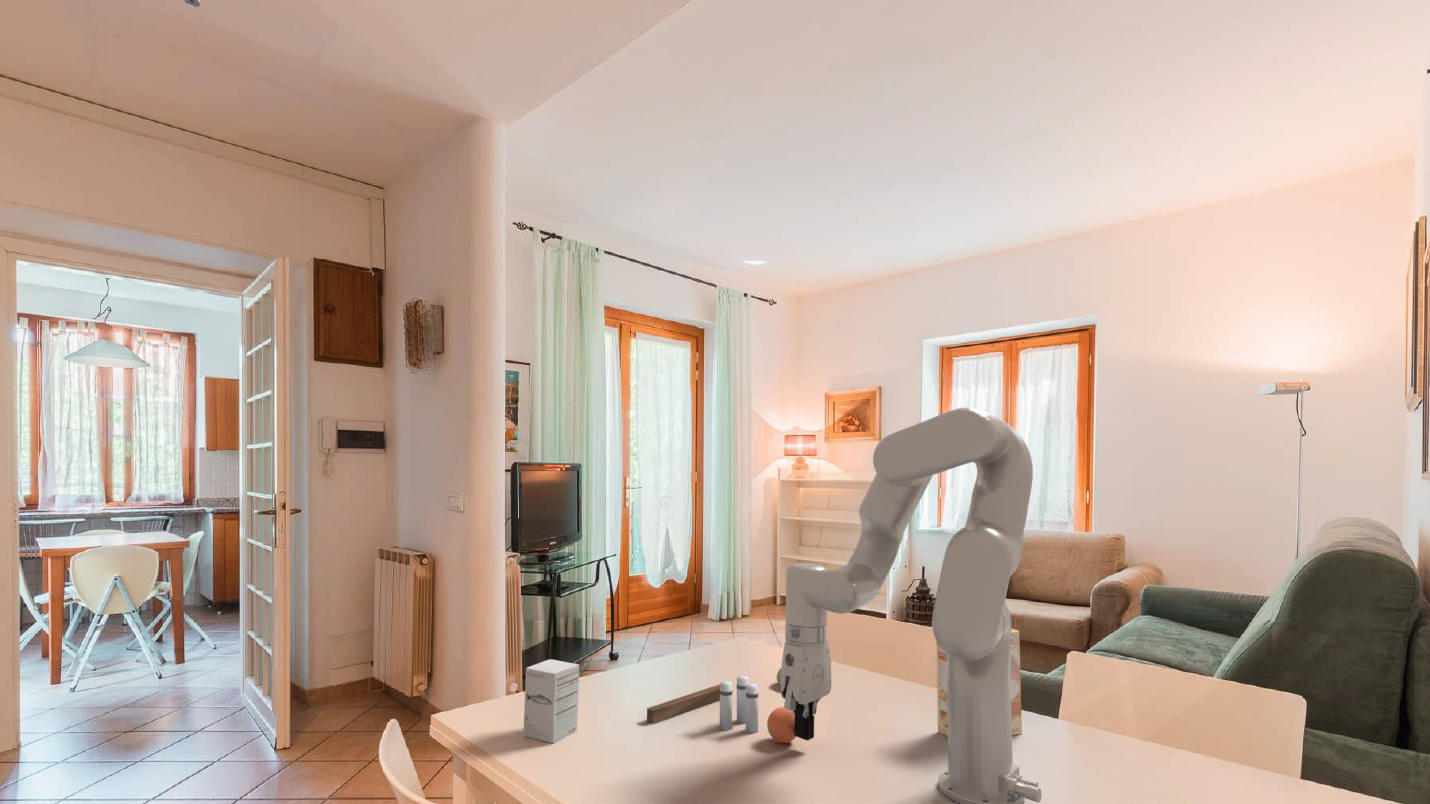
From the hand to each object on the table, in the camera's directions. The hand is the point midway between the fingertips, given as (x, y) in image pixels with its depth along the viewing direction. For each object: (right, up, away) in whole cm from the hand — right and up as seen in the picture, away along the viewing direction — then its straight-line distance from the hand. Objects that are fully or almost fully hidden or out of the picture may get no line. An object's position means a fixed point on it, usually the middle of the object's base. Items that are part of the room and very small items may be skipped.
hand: (804, 736), depth 124 cm
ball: (-3, 0, +4) cm, 5 cm away
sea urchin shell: (+3, -6, +36) cm, 36 cm away
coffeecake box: (+35, -4, +8) cm, 36 cm away
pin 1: (-14, -3, +10) cm, 17 cm away
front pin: (-9, -3, +9) cm, 13 cm away
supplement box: (-47, -3, +6) cm, 48 cm away
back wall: (-21, -4, +20) cm, 30 cm away
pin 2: (-11, -3, +13) cm, 17 cm away
